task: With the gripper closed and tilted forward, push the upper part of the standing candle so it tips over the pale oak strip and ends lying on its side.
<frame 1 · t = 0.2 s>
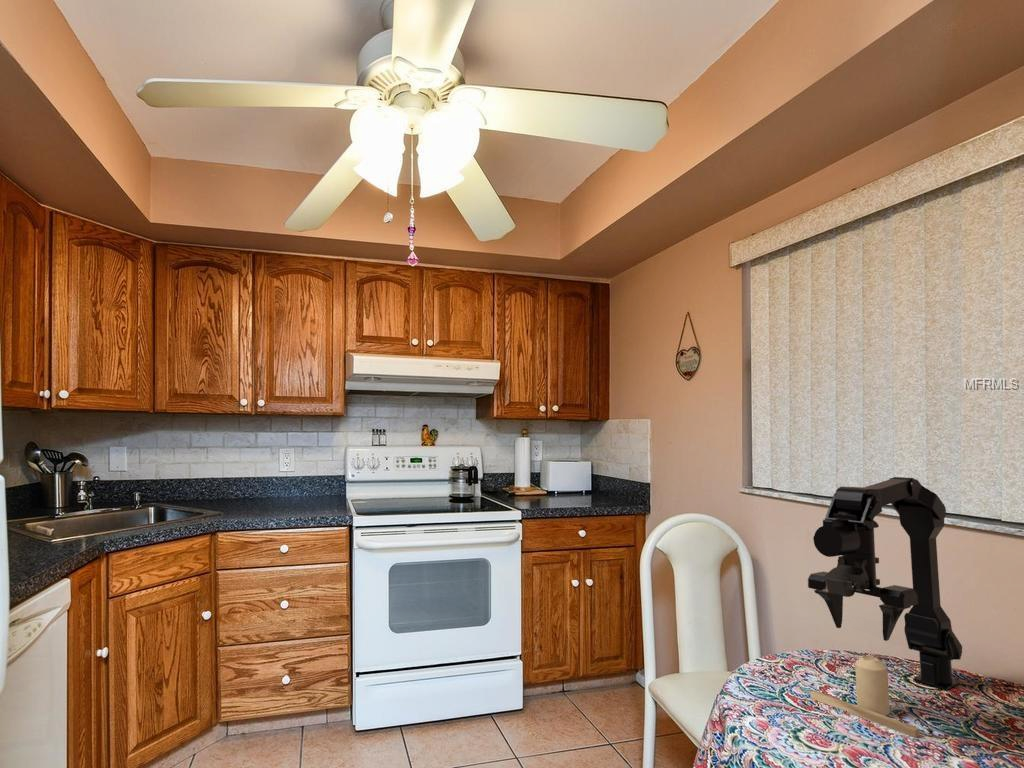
hand: (861, 633, 122), 15 cm above the table, tool pointing down, fingers open, 9 cm apart
candle: (873, 711, 122), on the table
oak strip: (861, 715, 120), on the table
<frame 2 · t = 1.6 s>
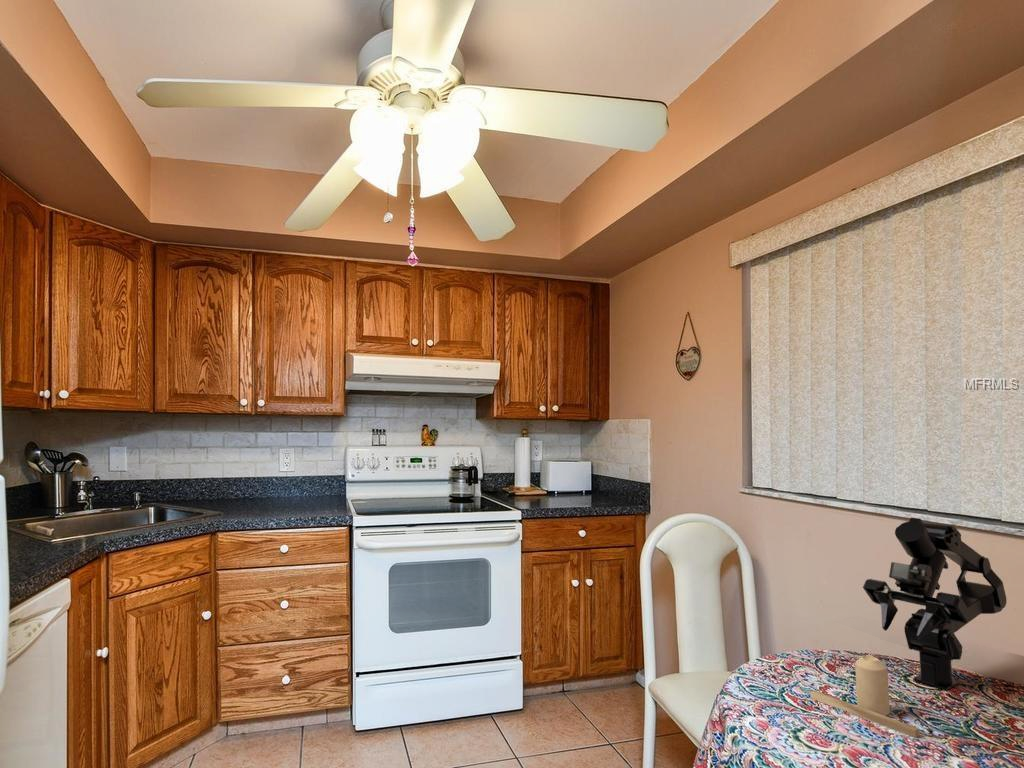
hand: (900, 633, 129), 13 cm above the table, tool tilted 45°, fingers open, 6 cm apart
nothing on the table moved.
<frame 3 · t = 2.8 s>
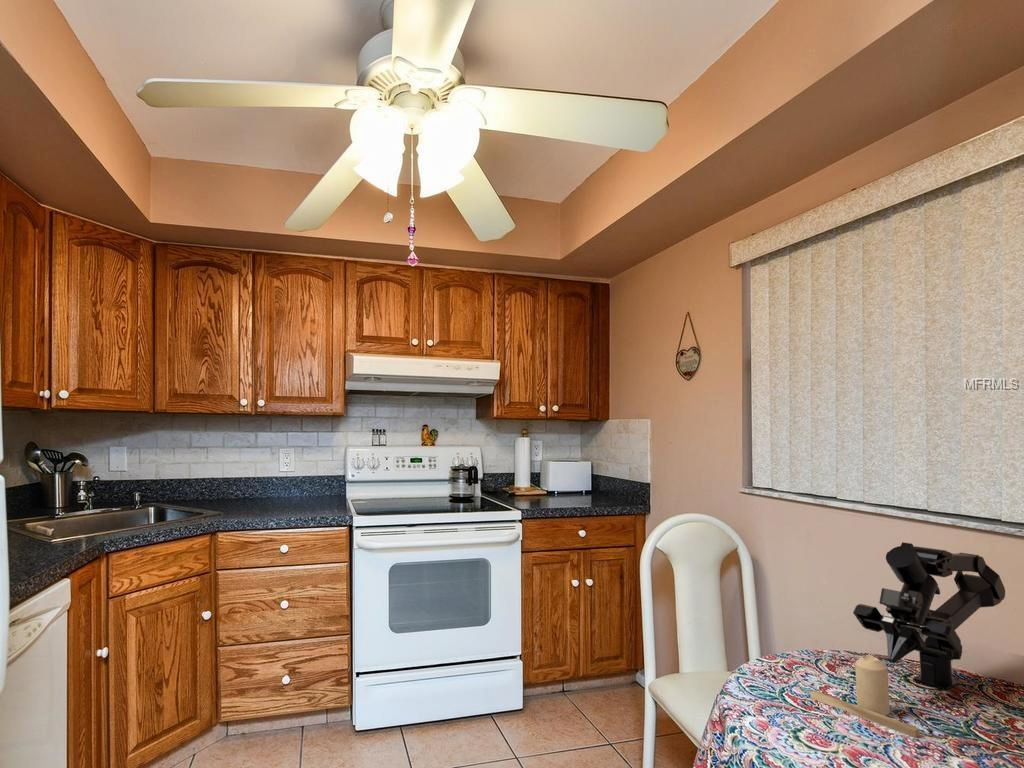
hand: (890, 661, 126), 8 cm above the table, tool tilted 45°, fingers closed
nothing on the table moved.
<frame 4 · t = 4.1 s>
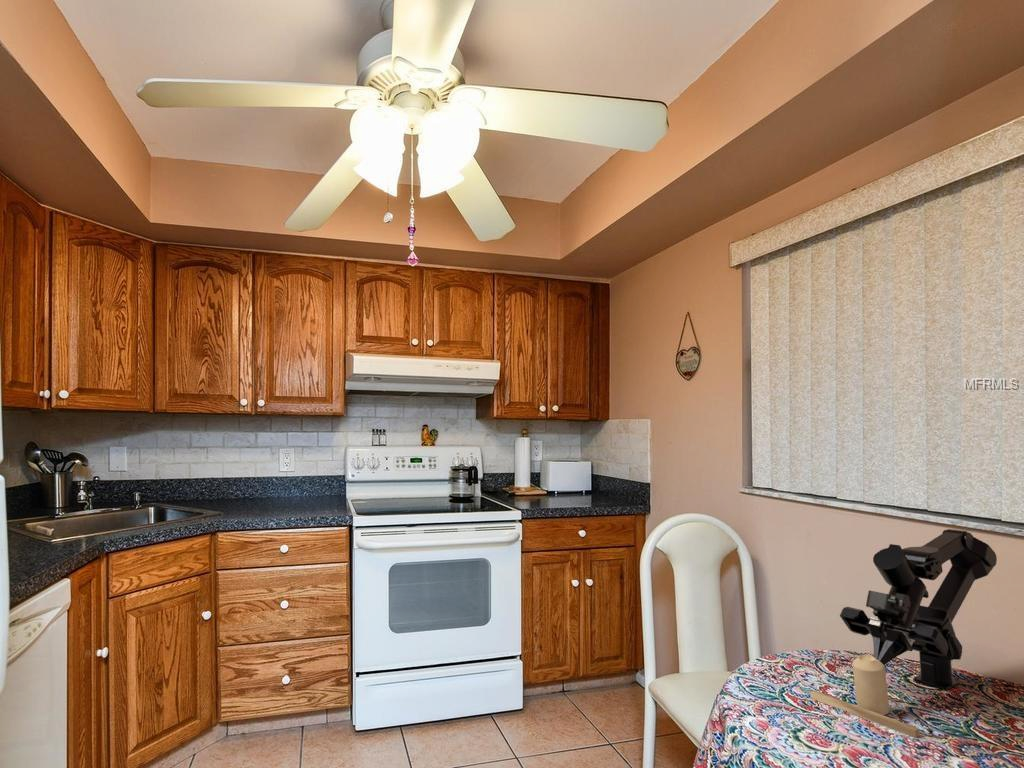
hand: (877, 665, 124), 8 cm above the table, tool tilted 45°, fingers closed
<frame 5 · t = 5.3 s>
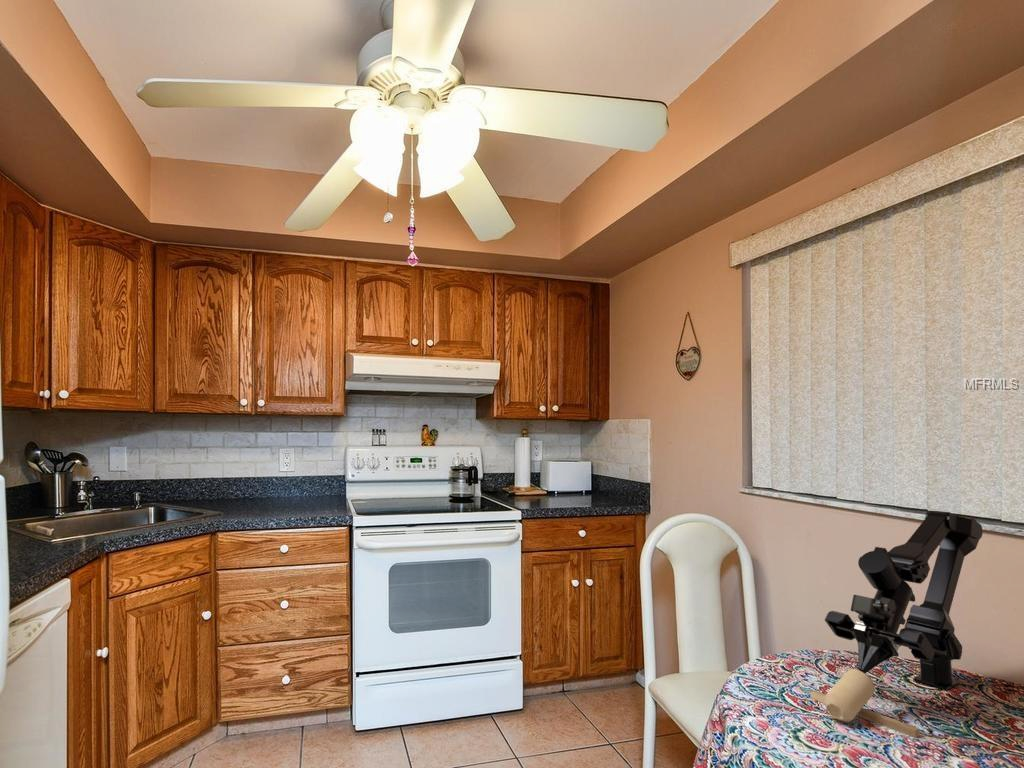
hand: (861, 671, 121), 8 cm above the table, tool tilted 45°, fingers closed, pressing on candle
candle: (861, 681, 122), point 6 cm above the table, touching gripper
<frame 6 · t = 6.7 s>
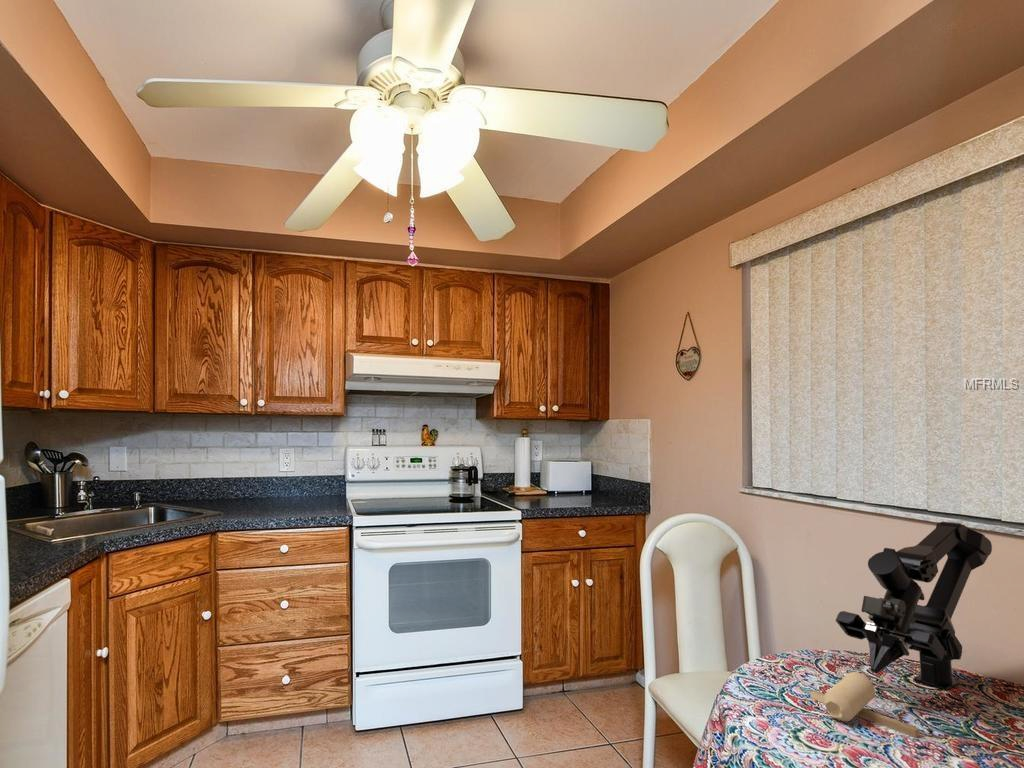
hand: (873, 671, 123), 7 cm above the table, tool tilted 45°, fingers closed
candle: (861, 684, 122), point 5 cm above the table, touching oak strip
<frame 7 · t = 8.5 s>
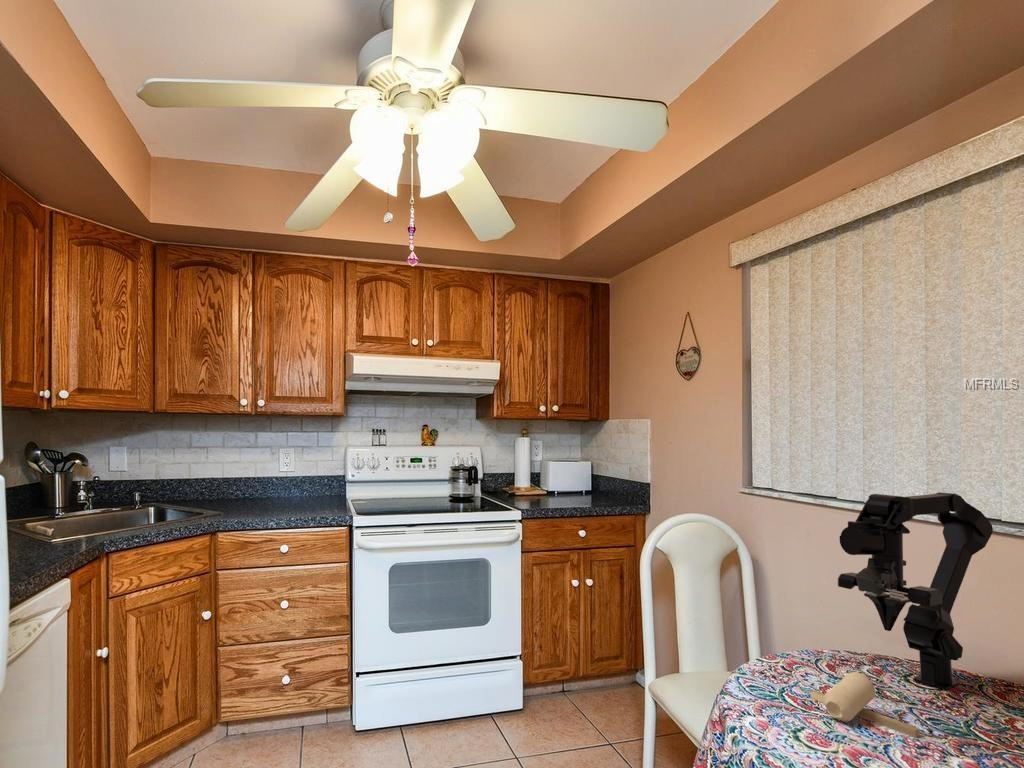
hand: (887, 630, 132), 12 cm above the table, tool pointing down, fingers closed
nothing on the table moved.
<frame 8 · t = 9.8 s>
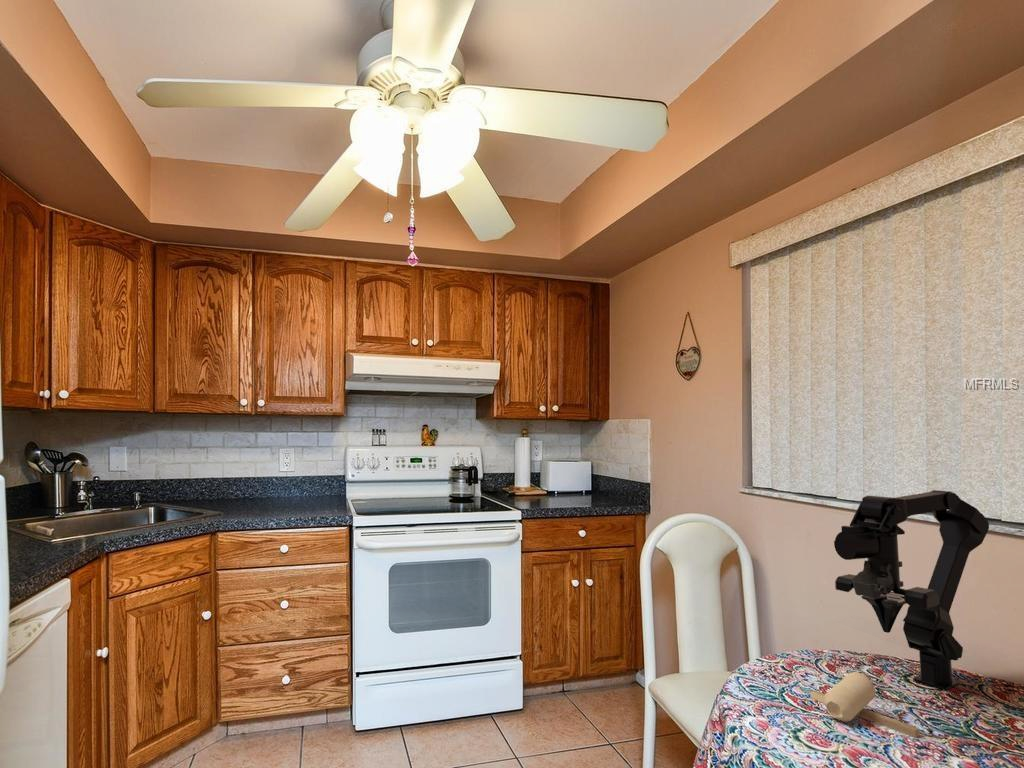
hand: (886, 632, 132), 12 cm above the table, tool pointing down, fingers closed
nothing on the table moved.
at the end: candle tilted 104°; candle inside the target area (5.8 cm from its centre), point 4.8 cm above the table; the gripper is holding nothing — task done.
